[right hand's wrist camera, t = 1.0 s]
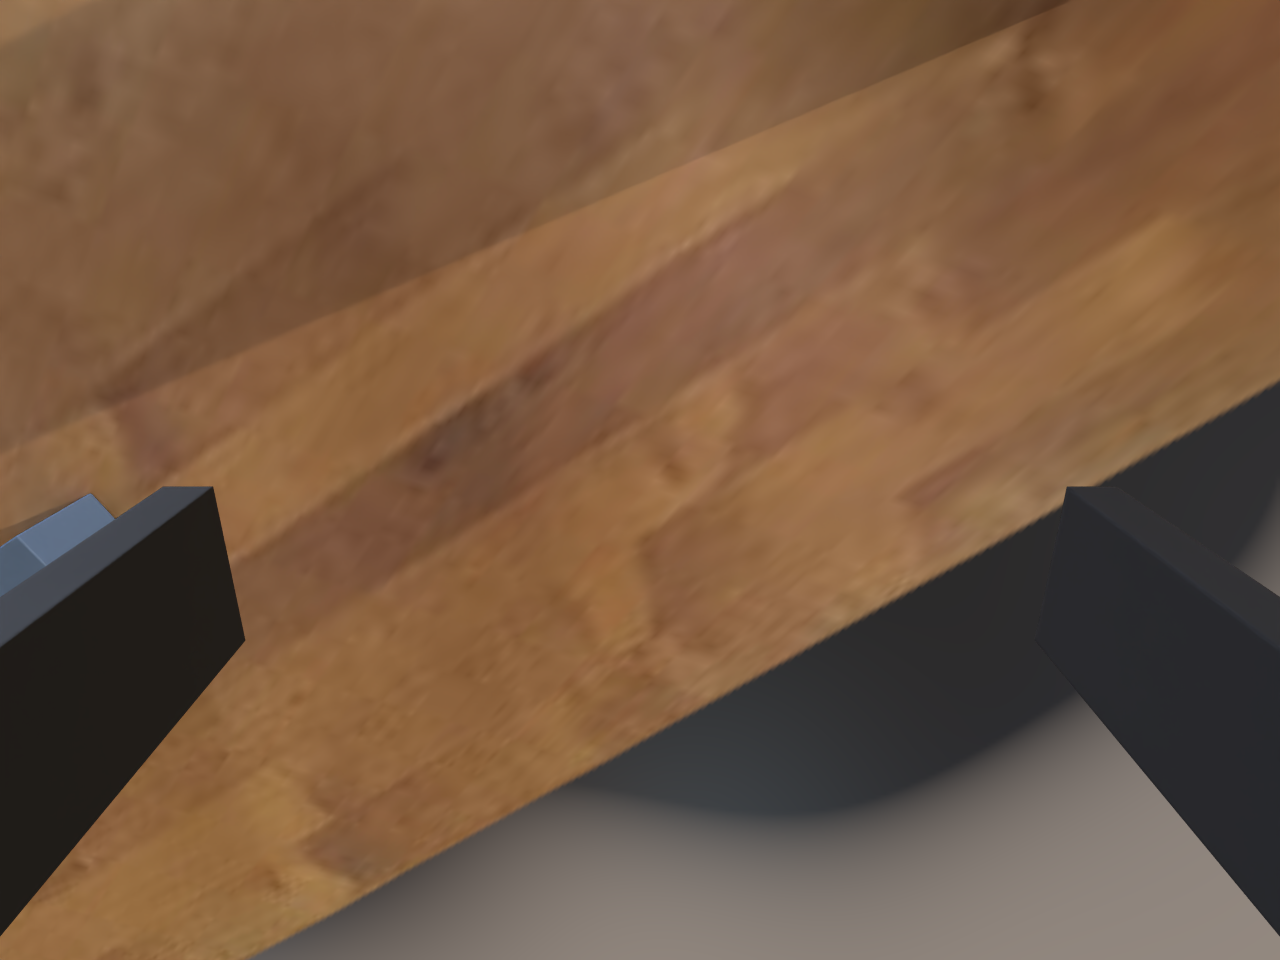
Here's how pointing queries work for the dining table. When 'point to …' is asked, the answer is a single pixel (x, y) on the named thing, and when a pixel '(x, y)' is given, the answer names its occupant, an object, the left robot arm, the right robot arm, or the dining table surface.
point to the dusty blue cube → (50, 540)
